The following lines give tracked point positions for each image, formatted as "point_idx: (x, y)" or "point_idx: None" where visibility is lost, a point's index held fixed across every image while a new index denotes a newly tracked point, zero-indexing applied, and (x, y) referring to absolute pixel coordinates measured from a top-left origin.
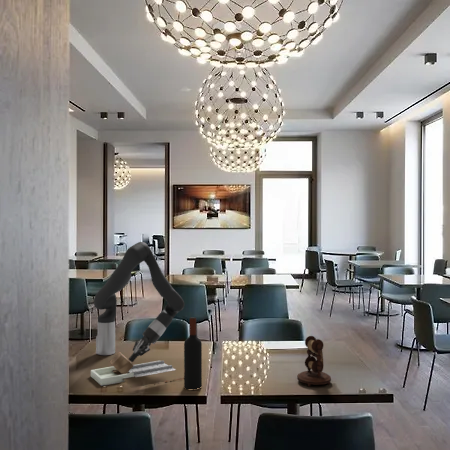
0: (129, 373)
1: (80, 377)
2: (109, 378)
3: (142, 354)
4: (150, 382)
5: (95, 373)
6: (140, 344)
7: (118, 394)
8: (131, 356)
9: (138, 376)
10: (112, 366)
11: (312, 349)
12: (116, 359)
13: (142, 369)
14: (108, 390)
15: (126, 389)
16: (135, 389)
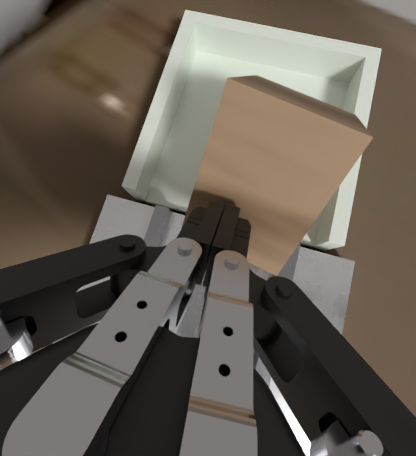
0: (139, 164)
1: (383, 41)
2: (172, 52)
3: (94, 288)
4: (27, 233)
5: (297, 35)
6: (133, 350)
7: (37, 37)
8: (213, 216)
9: (105, 211)
10: (355, 177)
11: None
12: (255, 80)
13: (198, 324)
14: (113, 35)
15: (55, 92)
16: (19, 119)
